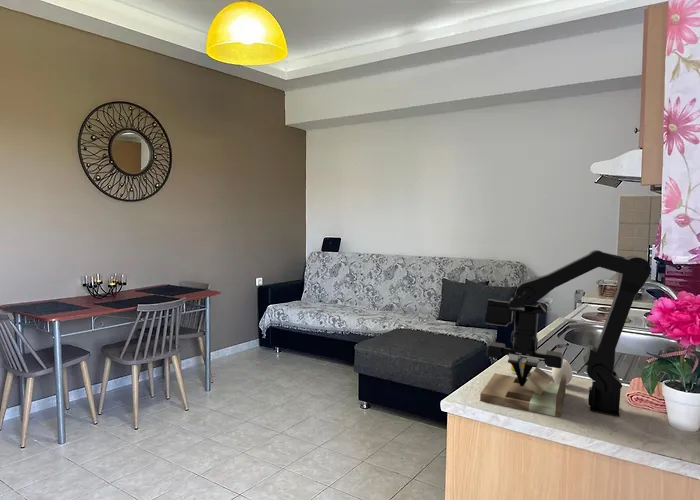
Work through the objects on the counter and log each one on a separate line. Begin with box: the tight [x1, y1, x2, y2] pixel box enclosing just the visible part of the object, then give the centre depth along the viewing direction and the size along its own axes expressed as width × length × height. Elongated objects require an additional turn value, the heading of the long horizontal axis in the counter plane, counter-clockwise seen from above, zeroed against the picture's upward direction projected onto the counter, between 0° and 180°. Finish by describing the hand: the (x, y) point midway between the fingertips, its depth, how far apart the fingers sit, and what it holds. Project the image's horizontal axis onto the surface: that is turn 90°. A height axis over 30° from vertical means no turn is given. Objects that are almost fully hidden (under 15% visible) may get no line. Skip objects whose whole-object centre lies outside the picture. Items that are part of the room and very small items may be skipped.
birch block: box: [525, 366, 553, 395], centre depth 124 cm, size 4×4×4 cm
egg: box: [551, 358, 573, 386], centre depth 136 cm, size 5×5×8 cm
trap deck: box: [479, 373, 567, 418], centre depth 126 cm, size 19×18×5 cm
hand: (522, 385), depth 127 cm, fingers closed
